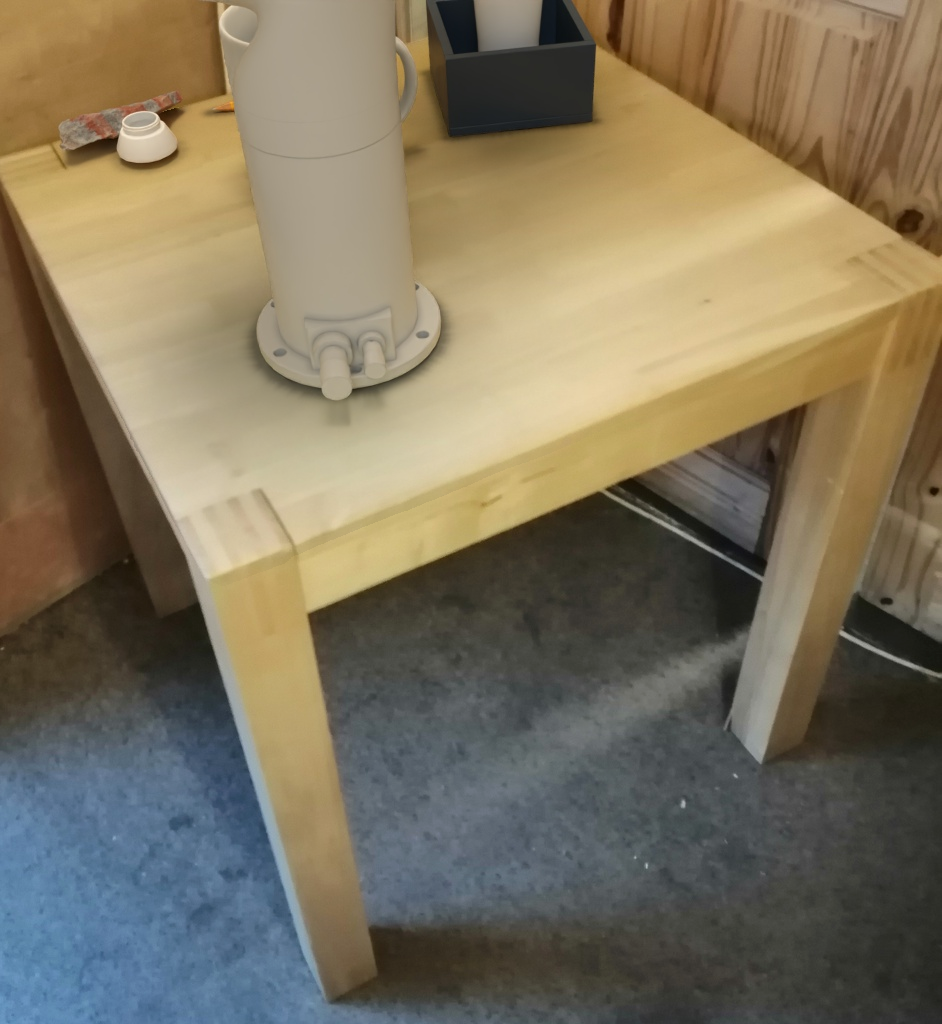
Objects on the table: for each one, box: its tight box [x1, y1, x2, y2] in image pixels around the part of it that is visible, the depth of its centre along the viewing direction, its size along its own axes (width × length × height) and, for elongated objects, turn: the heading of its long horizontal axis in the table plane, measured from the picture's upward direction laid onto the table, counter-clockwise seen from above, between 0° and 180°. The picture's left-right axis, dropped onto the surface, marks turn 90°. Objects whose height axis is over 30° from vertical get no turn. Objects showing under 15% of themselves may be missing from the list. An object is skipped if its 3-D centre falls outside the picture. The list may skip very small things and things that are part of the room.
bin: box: [425, 0, 597, 138], centre depth 95 cm, size 13×13×7 cm
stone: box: [57, 89, 184, 151], centre depth 94 cm, size 12×2×5 cm
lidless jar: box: [116, 111, 179, 164], centre depth 91 cm, size 5×3×5 cm
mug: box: [218, 5, 418, 124], centre depth 85 cm, size 15×11×13 cm
